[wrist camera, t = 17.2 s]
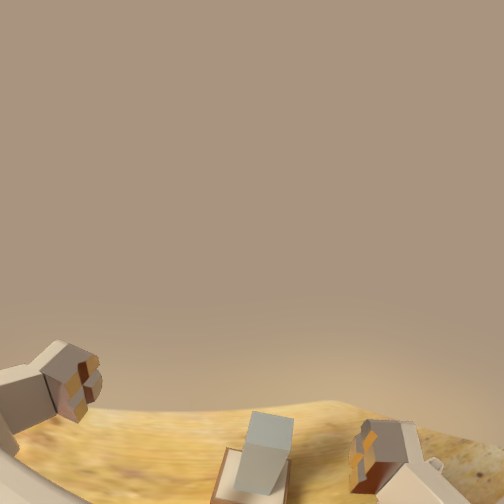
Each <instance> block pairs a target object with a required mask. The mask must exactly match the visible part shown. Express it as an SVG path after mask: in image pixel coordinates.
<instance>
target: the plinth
mask: <svg viewBox="0 0 504 504" xmlns="http://www.w3.org/2000/svg"><path fill="white" fill-rule="evenodd" d="M241 455H242V451H240V450H236V449H232V448H227V447H226V451H225V454H224V457H223V461H222V464H221V467H220V471H219V474H218V477H217V481H216V484H215V487H214V491H213V494H212V497H211V501H210V504H286V500H287V492H288V484H289V475H290V467H291V460H289V459H287V460H286V462H285V464H284V466H283V468H282V470H281V472H280V474H279V477H278V479H277V481H276V483H275V485H274V487H273V489H272V491H271V493H270V495H269V496H267V495H261V494H255V493H250V492H245V491H240V490H235V489H233V486H234V483H235V479H236V475H237V471H238V467H239V463H240V459H241Z"/></svg>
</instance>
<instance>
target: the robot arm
mask: <svg viewBox="0 0 504 504" xmlns="http://www.w3.org/2000/svg"><path fill="white" fill-rule="evenodd" d="M99 365H100V364H99V360H98V357H97V356H96V355H94V354H92V353H89V352H87V351H85V350H83V349H80V348H78V347H76V346H74V345H71V344H69V343H66V342H64V341H62V340H60V339H58V340H55V341H53V342H52V343H51V344H50V345H49V346H48V347H47V348H46V349H45V350H44V351H43V352H41V353H40V354H39V355H38V356H37V357H36V358H35V359H34V360H33V361H32V362H31V363H30V364H29V365H26V364H21V365H17V366H14V367H10V368H6V369H2V370H0V504H93V503H91V502H89V501H87V500H85V499H83V498H81V497H79V496H77V495H75V494H73V493H71V492H69V491H68V490H66V489H64V488H62V487H60V486H59V485H57V484H55V483H54V482H52V481H50V480H49V479H47V478H45V477H44V476H42V475H40V474H39V473H37V472H36V471H34V470H33V469H31V468H30V467H28V466H27V465H25V464H24V463H22V462H21V461H19V460H18V459H16V458H15V457H14V456H15V455H16V454H17V452H18V451H19V450H20V448H19V445H18V443H17V441H16V440H15V438H14V436H13V435H14V434H16V433H19V432H21V431H23V430H25V429H28V428H30V427H32V426H34V425H36V424H39V423H41V422H43V421H45V420H47V419H49V418H52V417H54V416H56V415H57V414H59V415H61V416H63V417H65V418H67V419H69V420H71V421H73V422H75V423H77V424H78V423H79V422H80V420H81V419H82V418H83V416H84V415H85V414H86V412H87V411H88V406H87V404H89V403H92V402H94V401H95V400H96V399H97V397H98V396H99V394H100V391H101V388H102V376H101V374H100V373H99V371H98V370H97V367H98V366H99ZM56 413H57V414H56ZM349 465H350V466H351V467H352V468H353V471H352V473H351V474H350V475H349V483H350V493H355V494H376V495H375V496H376V497H377V499H378V500H379V502H380V503H381V504H471V503H470V502H469V501H468V500H467V499H466V498H465V497H464V496H463V495H462V494H461V493H460V492H459V491H458V490H457V489H455V488H454V487H453V486H452V485H451V484H450V483H449V482H448V481H447V480H446V479H445V478H444V477H443V476H442V475H441V474H440V473H439V472H438V471H437V470H436V469H435V468H434V467H433V466H432V465H431V464H430V463H425V461H424V457H423V453H422V449H421V445H420V441H419V437H418V433H417V430H416V426H415V424H414V423H413V422H407V421H388V420H373V419H367V420H366V421H364V423H363V424H362V426H361V433H360V434H358V435H357V436H355V438H354V440H353V441H352V443H351V447H350V450H349Z"/></svg>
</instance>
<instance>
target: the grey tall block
mask: <svg viewBox="0 0 504 504" xmlns="http://www.w3.org/2000/svg"><path fill="white" fill-rule="evenodd" d="M293 423H294V419H293V418H287V417H282V416H276V415H271V414H266V413H261V412H256V411H253V412H252V416H251V420H250V424H249V428H248V432H247V436H246V440H245V444H244V447H243V451H242V455H241V459H240V463H239V467H238V471H237V475H236V479H235V483H234V486H233V489H235V490H240V491H245V492H250V493H255V494H261V495H267V496H269V495H270V493H271V491H272V489H273V487H274V485H275V483H276V481H277V479H278V477H279V474H280V472H281V470H282V468H283V466H284V464H285V462H286V460H287V457H288V455H289V453H290V451H291V442H292V433H293Z"/></svg>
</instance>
